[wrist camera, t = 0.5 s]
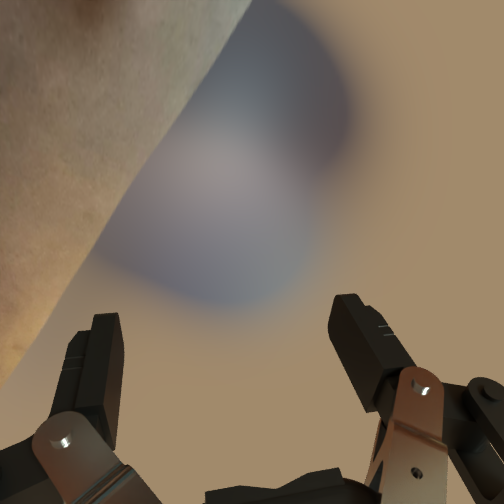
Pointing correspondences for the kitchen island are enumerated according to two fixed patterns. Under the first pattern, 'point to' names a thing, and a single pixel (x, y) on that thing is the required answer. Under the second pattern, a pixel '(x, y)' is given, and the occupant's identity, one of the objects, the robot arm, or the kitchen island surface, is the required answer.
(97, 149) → the kitchen island surface
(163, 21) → the kitchen island surface
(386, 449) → the robot arm
